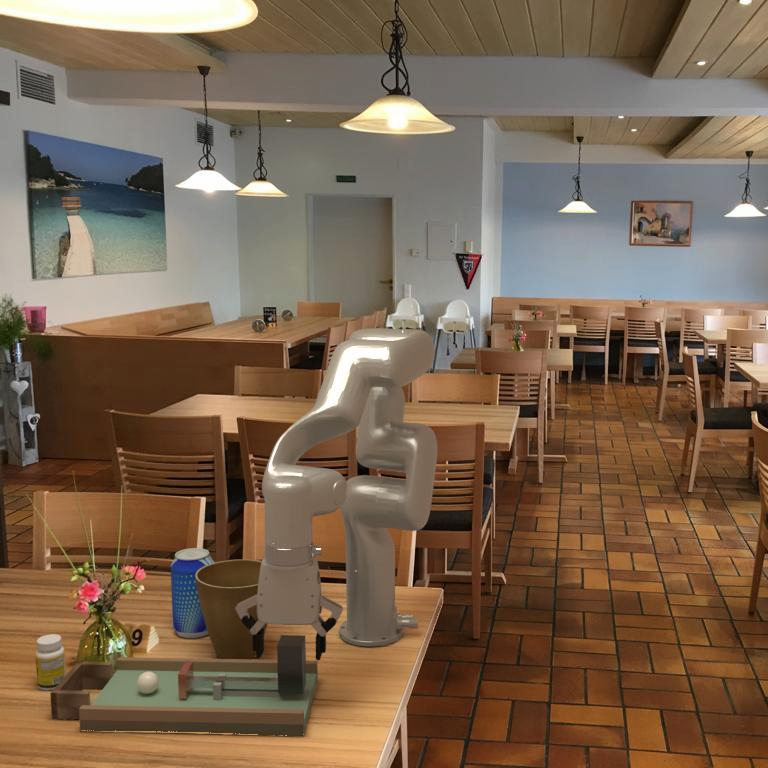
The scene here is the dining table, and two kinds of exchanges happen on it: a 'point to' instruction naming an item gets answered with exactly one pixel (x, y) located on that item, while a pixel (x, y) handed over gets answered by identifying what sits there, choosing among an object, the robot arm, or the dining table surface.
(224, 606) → the plant pot
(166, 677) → the pitch
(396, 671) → the dining table surface
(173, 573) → the beer can
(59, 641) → the supplement bottle
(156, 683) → the ball
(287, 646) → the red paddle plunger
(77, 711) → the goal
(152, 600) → the dining table surface
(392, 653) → the dining table surface
